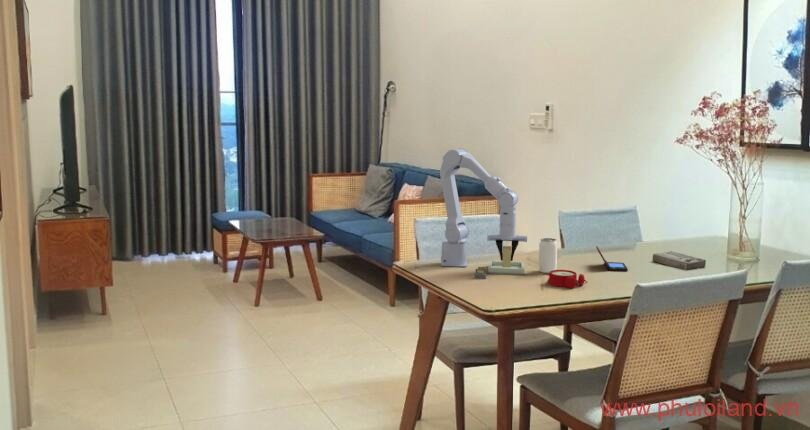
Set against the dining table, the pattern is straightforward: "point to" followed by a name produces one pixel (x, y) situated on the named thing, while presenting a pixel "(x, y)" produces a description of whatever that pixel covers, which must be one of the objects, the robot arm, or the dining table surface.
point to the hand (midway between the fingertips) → (506, 260)
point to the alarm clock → (565, 278)
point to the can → (547, 255)
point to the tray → (506, 268)
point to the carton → (506, 256)
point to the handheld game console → (613, 264)
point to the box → (679, 260)
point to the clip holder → (480, 273)
